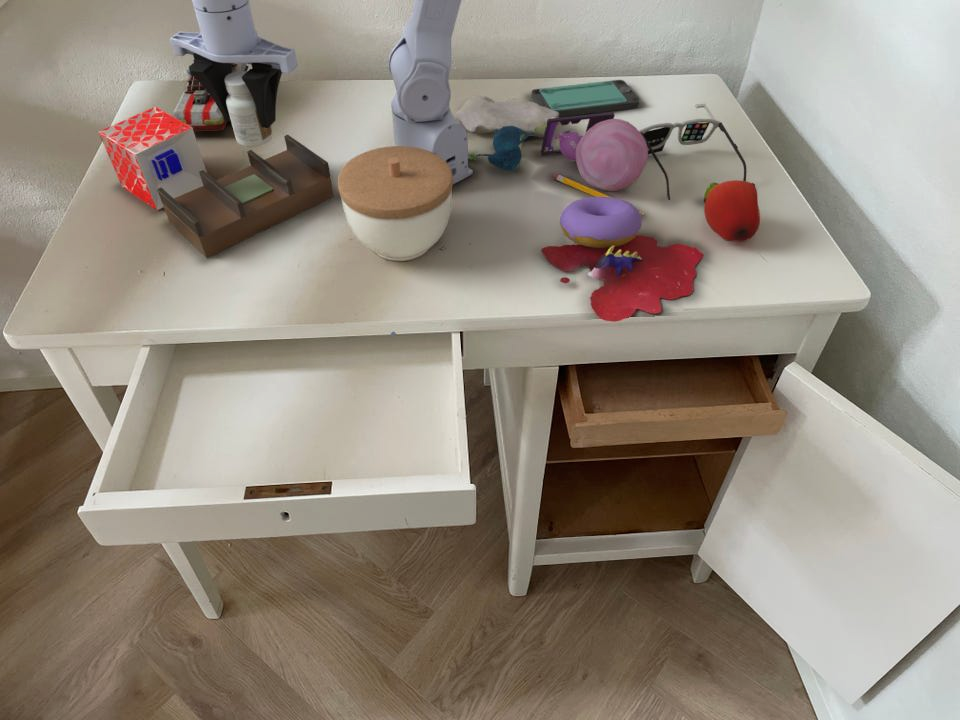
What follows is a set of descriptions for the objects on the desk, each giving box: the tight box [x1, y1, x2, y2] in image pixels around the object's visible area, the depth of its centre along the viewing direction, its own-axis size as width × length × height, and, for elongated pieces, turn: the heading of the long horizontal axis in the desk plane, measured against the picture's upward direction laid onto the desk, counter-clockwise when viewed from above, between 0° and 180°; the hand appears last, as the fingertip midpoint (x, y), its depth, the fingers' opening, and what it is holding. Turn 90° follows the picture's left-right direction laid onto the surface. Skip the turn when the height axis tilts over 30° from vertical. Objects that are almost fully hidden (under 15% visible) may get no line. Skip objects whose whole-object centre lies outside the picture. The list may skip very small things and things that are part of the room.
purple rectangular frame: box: [540, 111, 616, 162], centre depth 95 cm, size 7×5×9 cm
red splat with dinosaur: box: [540, 234, 704, 323], centre depth 81 cm, size 18×15×5 cm
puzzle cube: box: [98, 106, 208, 211], centre depth 90 cm, size 8×8×8 cm
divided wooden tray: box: [157, 134, 335, 259], centre depth 87 cm, size 9×18×5 cm, turn 133°
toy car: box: [171, 63, 250, 132], centre depth 103 cm, size 8×18×8 cm, turn 0°
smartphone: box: [530, 79, 641, 118], centre depth 107 cm, size 7×1×15 cm
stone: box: [456, 95, 560, 138], centre depth 101 cm, size 11×3×15 cm
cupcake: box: [575, 118, 649, 192], centre depth 91 cm, size 9×9×10 cm
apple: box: [703, 179, 761, 242], centre depth 85 cm, size 8×7×10 cm
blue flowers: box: [468, 121, 547, 171], centre depth 95 cm, size 12×4×8 cm
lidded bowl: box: [337, 145, 454, 262], centre depth 81 cm, size 13×13×11 cm
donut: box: [559, 196, 643, 248], centre depth 83 cm, size 10×9×5 cm
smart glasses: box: [638, 103, 748, 201], centre depth 95 cm, size 12×14×5 cm
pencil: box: [553, 173, 645, 216], centre depth 91 cm, size 1×13×1 cm, turn 52°
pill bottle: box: [224, 70, 273, 148], centre depth 84 cm, size 4×4×8 cm
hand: (250, 120), depth 85 cm, fingers closed on pill bottle, 4 cm apart
